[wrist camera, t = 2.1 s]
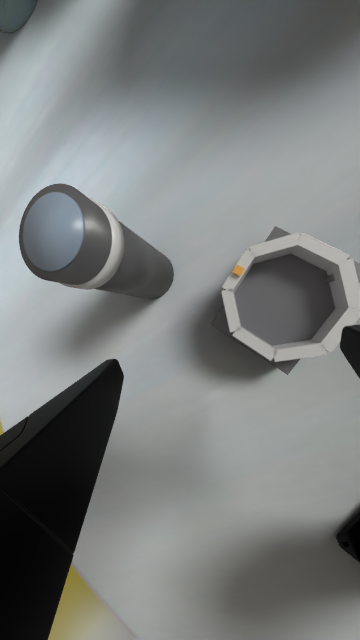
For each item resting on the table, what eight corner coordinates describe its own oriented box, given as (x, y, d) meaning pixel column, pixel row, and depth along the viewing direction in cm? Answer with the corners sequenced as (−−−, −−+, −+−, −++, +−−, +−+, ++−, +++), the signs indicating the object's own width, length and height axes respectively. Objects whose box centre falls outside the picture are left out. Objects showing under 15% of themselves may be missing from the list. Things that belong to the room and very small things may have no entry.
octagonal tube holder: (287, 369, 19) (303, 390, 14) (210, 319, 21) (199, 320, 15) (354, 282, 17) (401, 268, 12) (264, 236, 19) (271, 208, 14)
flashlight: (158, 309, 22) (63, 302, 11) (122, 284, 23) (1, 253, 12) (184, 265, 21) (111, 205, 10) (144, 241, 22) (38, 162, 11)
